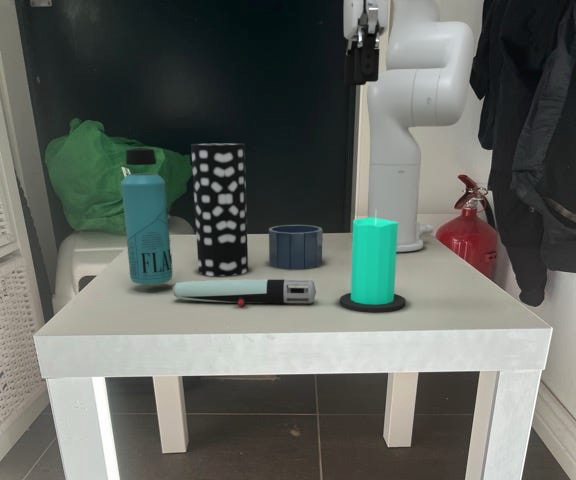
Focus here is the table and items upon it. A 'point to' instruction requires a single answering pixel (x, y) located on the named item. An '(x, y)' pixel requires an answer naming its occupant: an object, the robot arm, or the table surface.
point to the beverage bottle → (146, 221)
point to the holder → (295, 246)
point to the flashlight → (246, 291)
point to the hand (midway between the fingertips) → (360, 83)
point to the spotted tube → (220, 208)
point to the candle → (373, 260)
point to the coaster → (350, 304)
